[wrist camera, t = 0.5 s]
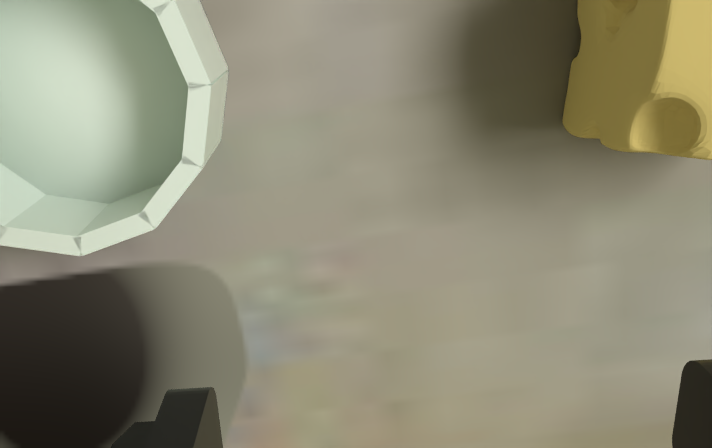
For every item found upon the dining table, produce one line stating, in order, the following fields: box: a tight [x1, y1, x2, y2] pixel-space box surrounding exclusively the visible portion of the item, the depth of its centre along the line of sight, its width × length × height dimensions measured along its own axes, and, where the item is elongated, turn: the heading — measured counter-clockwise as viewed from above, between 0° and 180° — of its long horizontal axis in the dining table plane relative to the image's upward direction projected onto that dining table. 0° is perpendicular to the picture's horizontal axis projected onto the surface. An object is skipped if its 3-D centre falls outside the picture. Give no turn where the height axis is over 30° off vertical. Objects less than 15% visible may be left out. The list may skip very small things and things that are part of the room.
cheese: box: [563, 0, 712, 160], centre depth 31 cm, size 10×11×10 cm
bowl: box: [0, 0, 229, 256], centre depth 33 cm, size 15×15×6 cm
